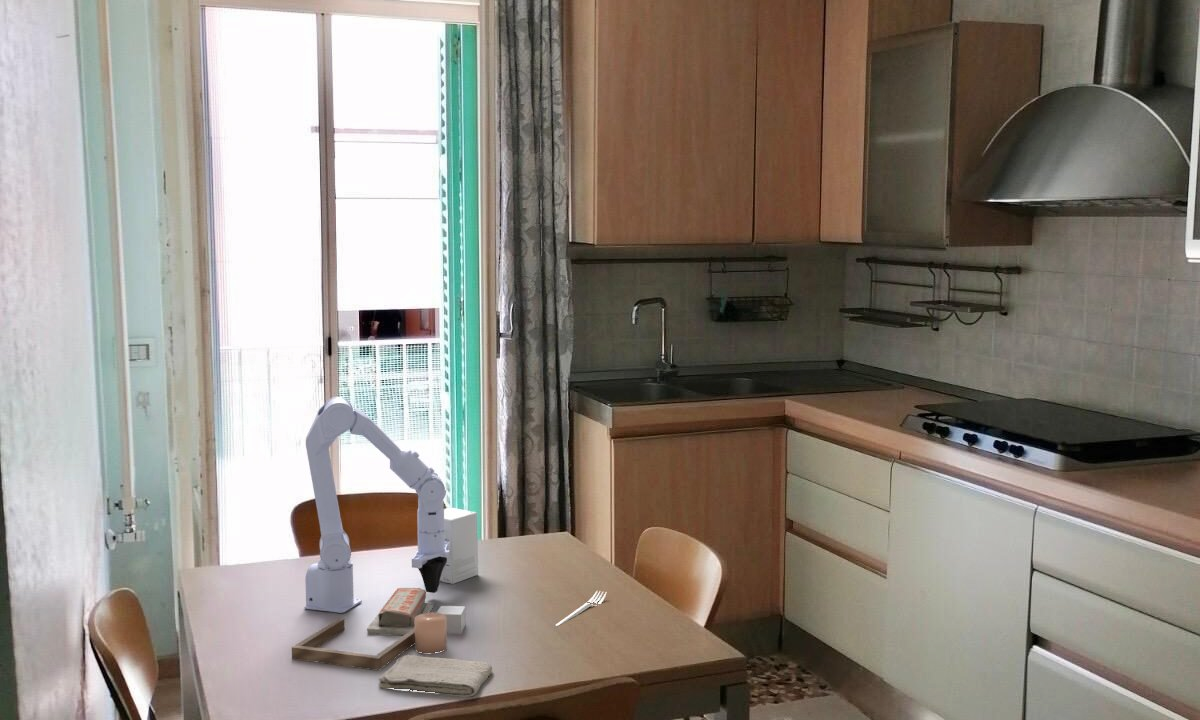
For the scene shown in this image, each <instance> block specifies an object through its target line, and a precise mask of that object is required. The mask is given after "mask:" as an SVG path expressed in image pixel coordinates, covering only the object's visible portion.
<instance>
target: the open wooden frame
mask: <svg viewBox="0 0 1200 720" xmlns="http://www.w3.org/2000/svg"><path fill="white" fill-rule="evenodd" d="M345 629H346V628H345V619H344V618H338V619H335V620H334V621H332V622H331V623H329V624H328V625H326V626H325V627H322V628H321V629H320V630H318V631H317V632H314V633H313V634H311V635H309V636H308V637H306V638H304V639H303V640H301V641H300V642H298V643H296V644H294V645H293V646H291V660H297V659H299V660H300V661H305V660H309V661H308V662H312V661H318V662H317V663H320V662H324V663H323V664H328V663H331V664H330V665H335V664H338V665H337V666H343V665H345V666H344V667H350V666H354V667H353V668H358V667H361V668H360V669H365V668H369V669H368V670H373V669H377V670H376V671H379V669H380V670H381V669H382V668H384V667H385V666H386V665H387V663H388V662H389V663H391V662H392V661H393V660H395V659H396V658H397V657H398V655H399V654H400V655H401V654H402V652H403V651H404V652H406V651H407V650H408V649H409V647H410V646H411V645H412V646H413V644H414V643H415V628H414V629H412V630H411V631H410V632H408V633H407V634H405V635H403V636H402V635H401V637H400V638H399V639H397V640H395V641H394V642H393V643H391V644H389V646H387V647H385V648H384V649H383V650H381V651H380V652H378V653H377V654H376V655H375V654H368V653H360V652H350V651H346V650H345V651H344V650H338V649H337V650H336V649H329V648H320V647H319V645H320V646H322V645H323V644H325V643H326V642H327V640H328V641H329V640H331V639H332V638H334V637H336V636H337V635H339V634H340V633H342V632H344V631H345ZM324 642H325V643H324ZM322 643H323V644H322ZM414 645H415V644H414ZM412 646H411V647H412ZM316 647H317V648H316ZM411 647H410V648H411ZM407 648H408V649H407ZM406 649H407V650H406ZM404 652H403V653H404ZM400 655H399V656H400ZM395 657H396V658H395ZM394 658H395V659H394ZM390 661H391V662H390ZM389 663H388V664H389ZM384 665H385V666H384ZM383 666H384V667H383Z"/></svg>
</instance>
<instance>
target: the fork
mask: <svg viewBox="0 0 1200 720" xmlns="http://www.w3.org/2000/svg"><path fill="white" fill-rule="evenodd" d="M606 596H607V591H605V593H604V591H601V590H599V592H598V590H596V591H595V593H594V594H593V596H591V598H589V600H588V601H587V602H590V603H593V602H594V603H596V604H597V602H598V601H599V602H598V604H600V605H601V604H603V603H604V600H605V598H606ZM587 602H585V603H584V604H583V605H581V606H580V607H579V608H577V609H575V610H574V611H572V612H571V613H570V614H569V615H567V616H565V618H563V619H562V620H560V621H559V622H558V623H556V624H555V625H554V626H556V627H560V625H562V624H564V623H565V622H567V621H569V620H571V619H573V618H574V617H576V616H577V615H580V614H581V613H582V612H583V611H585V610H587V609H588V608H590V607H592V608H594V607H593V606H595V607H598V606H597V605H593V604H590V603H587ZM602 602H603V603H602Z"/></svg>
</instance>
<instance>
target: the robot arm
mask: <svg viewBox="0 0 1200 720" xmlns="http://www.w3.org/2000/svg"><path fill="white" fill-rule="evenodd" d="M353 407H354V408H353ZM347 431H349V434H350V435H357V436H362V437H364V438H365V439H366V440H367V441H368V442H369V443H371V444H372V445H373V446H374V447H375V448H377V450H379V452H381V454H383V455H384V456H385V457H386V458H387V459H388V460H389V469H390V470H391V471H392V472H393V473H394V474H395V475H396V476H397V477H398V478H399V479H401V481H402V482H404V483H405V484H406V486H407V487H409V488H410V489H411V490H415V492H416V494H417V499H418V500H417V503H418V504H417V506H418V508H417V511H416V513H417V514H416V515H417V516H416V517H417V519H416V520H417V550H416V552H415V554H414V556H413V557H412V558H411V568H414V569H418V571H419V573H420V576H421V577H422V581H423V584H424V585H423V586H424V590H425V591H426V593H430V594H431V593H433V594H435V593H437V592H438V590H439V585H440V582H441V581H440V577H441V574H442V571H443V568H444V566H445V564H446V562H447V558H446V557H440V556H446V555H448V554H449V553H450V551H449V550H450V542H445V541H444V509H445V508H444V503H445V502H444V499H445V498H446V493H447V490H446V487H445V485H444V483H443V481H442V479H441V478H440V476H439V474H437V473H436V472H435V469H434V468H433V467H430V468H429V466H427V465H426V464H425V462H424V461H422V460H421V459H420V458H419V457H420V454H419V452H417V451H416V450H413V451H412V450H411V449H410V448H400V446H398V445H397V444H396V443H395V442H394V441H393V440H392V439H391V438H390V437H389V436H388V435H387V433H385V432H384V431H383V430H382V429H381V428H380V427H379V426H378V424H376V422H375V421H374V420H372V418H371V417H369V415H367V414H366V413H364V411H362V410H361V409H360V408H358V407H356V406H355V405H354V406H353V405H352V403H351V401H349V400H348V399H347V398H345V397H341V396H333V397H331V398H330V399H328V400H327V401H326V402H325V403H324V404H323V405H322V406H321V407H320V408H319V409H318V411H317V413H316V415H315V418H314V420H313V422H312V425H311V427H310V428H309V430H308V433H307V435H306V437H305V449H306V455H307V460H308V465H309V471H310V472H309V473H310V476H311V482H312V489H313V495H314V501H315V505H316V512H317V517H318V522H319V523H318V524H319V529H320V535H321V536H320V539H319V542H318V543H319V544H318V545H319V550H320V552H319V557H320V560H319V561H318V562H315V563H312V564H310V565H309V566H308V569H307V570H306V574H305V605H304V606H303V609H305V610H314V611H323V612H330V613H338V614H339V613H340V614H343V613H346V612H347V611H349V610H351V609H352V608H354V607H356V606H357V605H359V604H360V603H362V602H363V601H362V600H363V599H359V598H355V597H354V562H353V560H352V559H351V558H352V549H351V546H350V538H349V536H348V534H347V533H346V532H345V530H344V529H343V523H342V518H341V512H340V506H339V501H338V494H337V490H336V485H335V478H334V472H333V465H332V460H331V455H330V447H331V446H332V445H333V443H334V442H335V441H336V440H337V439H338V437H339V436H342V435H343V434H344V433H346V432H347Z"/></svg>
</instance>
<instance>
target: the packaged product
mask: <svg viewBox="0 0 1200 720" xmlns="http://www.w3.org/2000/svg"><path fill="white" fill-rule="evenodd" d="M426 598H427V592H426V589H422V588H421V587H417V588H416V587H399V588H398V587H397V588H396V590H395V591H394V592H393V594H391V596H390V598H389V599H388V600H387V602H385V604H384V605H383V607H382V608H381V609H380V610H379V612H378V614H377V615H376V617H375V618H374V619H373V620H372V621H371V622H370V623H369V625H368V626H367V627H366V631H367V632H366V633H367V635H381V634H393V635H392V636H402V635H403V636H404V635H405V634H407V633H408V632H410V631H411V630H412V629H414V628H415V624H414V618H415V617H416V616H418V615H420V614H424V613H431V612H432V610H433V609H434V607H433V606H435V602H426ZM432 608H433V609H432ZM430 611H431V612H430ZM394 634H395V635H394Z"/></svg>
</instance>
